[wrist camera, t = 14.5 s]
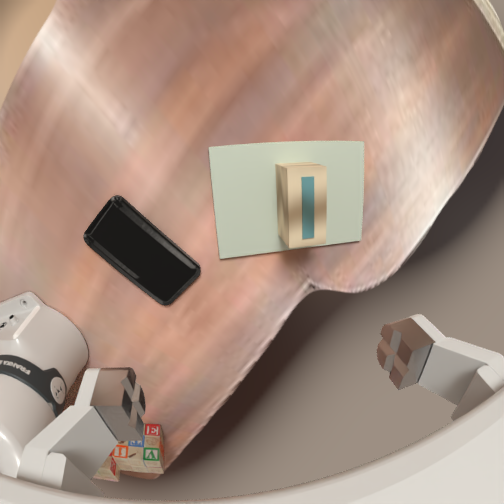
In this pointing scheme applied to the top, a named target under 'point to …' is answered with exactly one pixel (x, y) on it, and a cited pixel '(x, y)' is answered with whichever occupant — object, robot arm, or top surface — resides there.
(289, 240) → the maple block
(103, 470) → the stack of blocks
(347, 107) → the top surface
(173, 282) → the phone
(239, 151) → the rubber mat
